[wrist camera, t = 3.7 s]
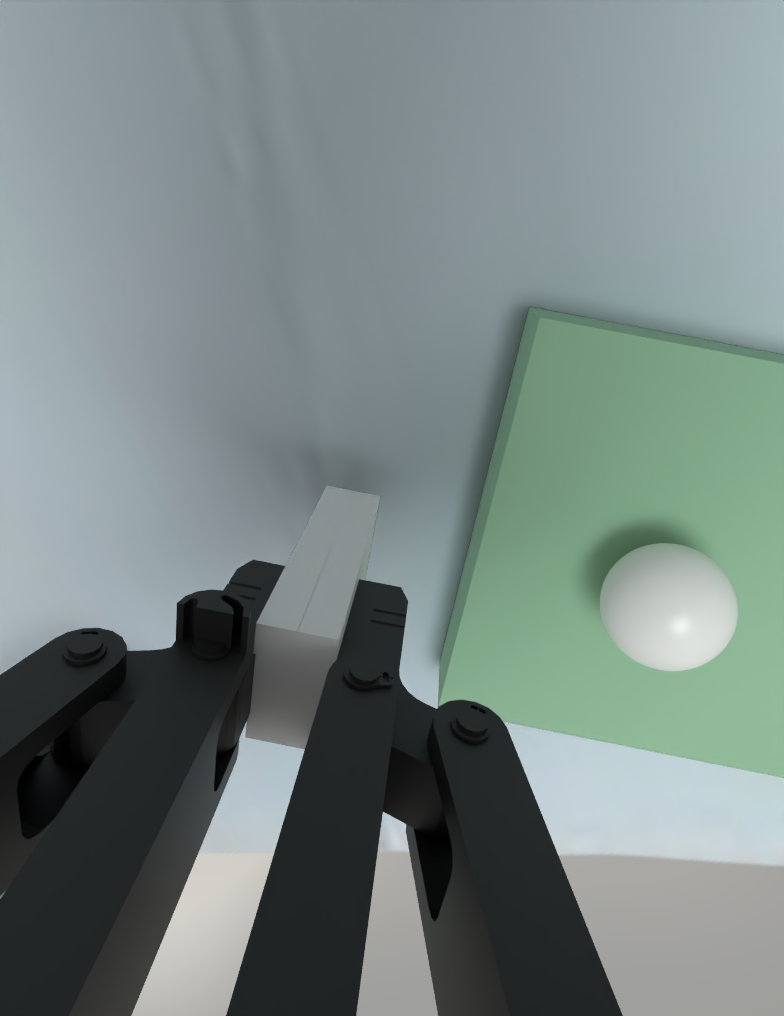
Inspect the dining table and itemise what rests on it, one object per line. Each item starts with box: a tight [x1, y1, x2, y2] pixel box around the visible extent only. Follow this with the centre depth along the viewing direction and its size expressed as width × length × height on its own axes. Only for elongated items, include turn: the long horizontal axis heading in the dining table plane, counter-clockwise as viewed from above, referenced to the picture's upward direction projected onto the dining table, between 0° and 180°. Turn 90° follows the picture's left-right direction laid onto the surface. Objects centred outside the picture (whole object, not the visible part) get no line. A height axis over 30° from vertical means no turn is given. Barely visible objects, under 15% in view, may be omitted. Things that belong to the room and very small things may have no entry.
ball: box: [600, 543, 738, 671], centre depth 17 cm, size 3×3×3 cm
